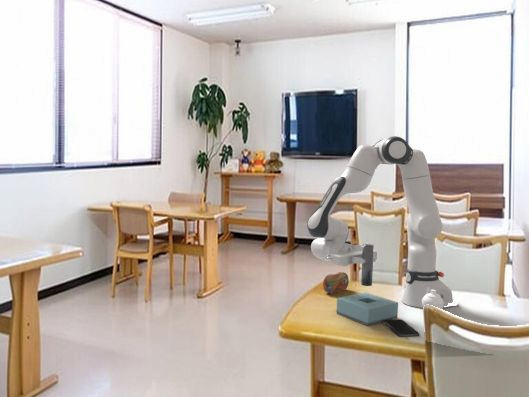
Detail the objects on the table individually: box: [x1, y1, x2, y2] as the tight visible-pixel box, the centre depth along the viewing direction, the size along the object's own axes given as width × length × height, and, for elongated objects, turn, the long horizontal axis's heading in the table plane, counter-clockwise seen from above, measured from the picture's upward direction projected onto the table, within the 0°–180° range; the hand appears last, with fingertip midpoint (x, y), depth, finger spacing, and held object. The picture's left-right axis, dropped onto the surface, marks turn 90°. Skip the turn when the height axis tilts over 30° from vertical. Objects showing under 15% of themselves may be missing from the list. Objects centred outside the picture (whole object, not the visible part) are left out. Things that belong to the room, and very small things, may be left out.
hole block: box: [336, 291, 399, 327], centre depth 189 cm, size 16×16×6 cm
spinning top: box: [422, 290, 444, 309], centre depth 184 cm, size 8×8×12 cm
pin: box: [360, 243, 375, 287], centre depth 187 cm, size 4×4×15 cm
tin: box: [322, 271, 350, 295], centre depth 222 cm, size 15×3×8 cm, turn 132°
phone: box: [382, 319, 420, 338], centre depth 176 cm, size 8×1×15 cm
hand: (369, 260), depth 186 cm, fingers closed on pin, 4 cm apart
